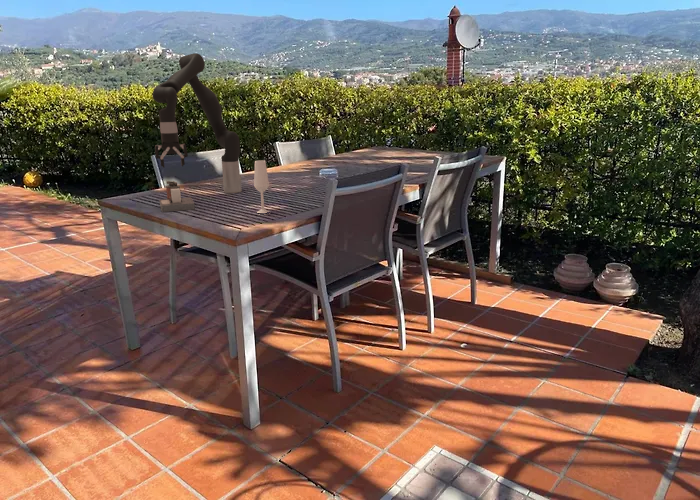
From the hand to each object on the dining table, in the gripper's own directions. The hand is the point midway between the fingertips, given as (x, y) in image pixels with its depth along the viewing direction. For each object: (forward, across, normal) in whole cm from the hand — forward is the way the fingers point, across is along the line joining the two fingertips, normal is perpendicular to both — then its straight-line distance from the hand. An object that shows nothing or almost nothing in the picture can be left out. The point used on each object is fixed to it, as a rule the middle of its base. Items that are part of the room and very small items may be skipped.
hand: (173, 166), depth 241 cm
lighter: (+20, 0, -18) cm, 27 cm away
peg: (+20, 0, 0) cm, 20 cm away
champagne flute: (+20, -36, +28) cm, 49 cm away
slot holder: (+20, 0, 0) cm, 20 cm away
